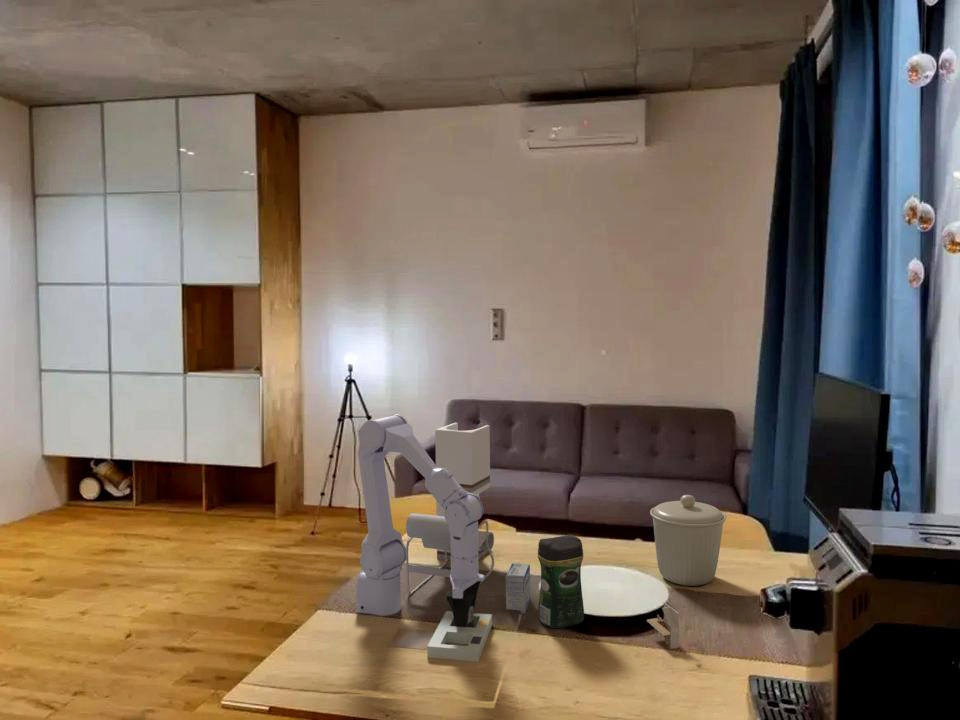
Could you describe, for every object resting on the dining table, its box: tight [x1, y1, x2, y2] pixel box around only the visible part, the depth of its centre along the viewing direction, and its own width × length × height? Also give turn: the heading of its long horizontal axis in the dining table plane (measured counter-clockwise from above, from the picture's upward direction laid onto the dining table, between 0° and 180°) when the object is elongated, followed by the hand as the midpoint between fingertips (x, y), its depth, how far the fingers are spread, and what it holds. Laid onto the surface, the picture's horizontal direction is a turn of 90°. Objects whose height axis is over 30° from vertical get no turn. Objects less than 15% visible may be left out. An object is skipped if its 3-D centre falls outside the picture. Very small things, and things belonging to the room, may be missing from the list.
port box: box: [426, 610, 493, 663], centre depth 149 cm, size 10×16×3 cm, turn 170°
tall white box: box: [434, 422, 491, 561], centre depth 199 cm, size 11×11×35 cm
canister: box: [649, 494, 727, 587], centre depth 181 cm, size 18×18×21 cm
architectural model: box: [646, 602, 680, 650], centre depth 149 cm, size 3×7×7 cm, turn 16°
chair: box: [405, 512, 495, 596], centre depth 180 cm, size 13×25×20 cm, turn 159°
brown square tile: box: [387, 628, 436, 651], centre depth 150 cm, size 8×8×1 cm
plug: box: [454, 605, 474, 628], centre depth 153 cm, size 4×4×7 cm
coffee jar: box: [537, 533, 585, 629], centre depth 158 cm, size 10×8×19 cm
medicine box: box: [505, 562, 531, 615], centre depth 167 cm, size 8×4×9 cm, turn 168°
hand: (465, 618), depth 153 cm, fingers open, 7 cm apart
